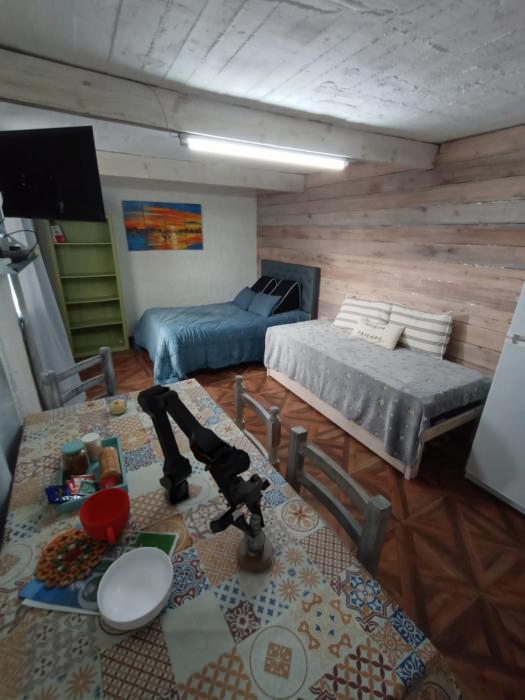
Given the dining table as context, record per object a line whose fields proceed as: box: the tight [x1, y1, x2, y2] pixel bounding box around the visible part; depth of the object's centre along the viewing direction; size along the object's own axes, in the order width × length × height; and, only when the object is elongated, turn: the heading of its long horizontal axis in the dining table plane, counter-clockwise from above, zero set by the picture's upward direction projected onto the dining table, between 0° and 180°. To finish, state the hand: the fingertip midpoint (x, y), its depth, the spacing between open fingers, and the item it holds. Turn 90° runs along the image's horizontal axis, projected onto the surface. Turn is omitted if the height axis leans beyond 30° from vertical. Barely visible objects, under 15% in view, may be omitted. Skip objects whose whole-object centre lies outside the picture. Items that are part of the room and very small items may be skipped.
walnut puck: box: [238, 535, 273, 574], centre depth 86 cm, size 9×9×4 cm
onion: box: [108, 398, 128, 415], centre depth 152 cm, size 8×8×7 cm
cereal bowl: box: [96, 546, 175, 631], centre depth 75 cm, size 17×17×7 cm
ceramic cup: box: [78, 487, 131, 545], centre depth 90 cm, size 13×17×10 cm
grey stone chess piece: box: [243, 514, 267, 557], centre depth 83 cm, size 6×6×12 cm
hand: (258, 532), depth 82 cm, fingers closed on grey stone chess piece, 3 cm apart
